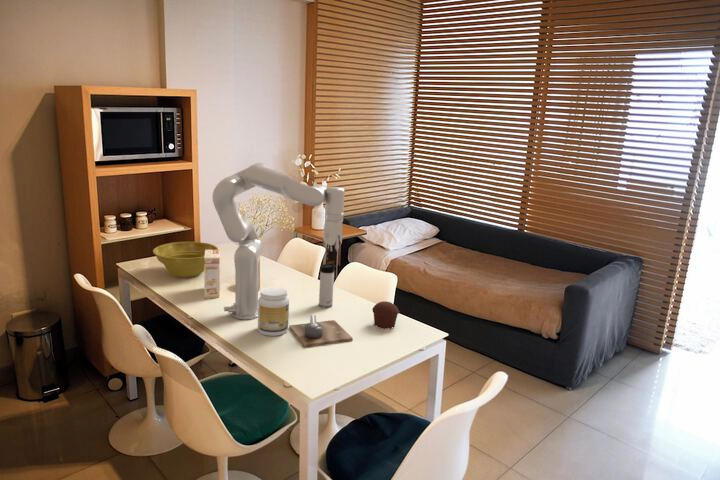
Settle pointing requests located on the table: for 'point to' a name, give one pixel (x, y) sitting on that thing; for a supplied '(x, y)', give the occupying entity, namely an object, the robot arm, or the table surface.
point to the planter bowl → (183, 257)
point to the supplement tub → (273, 311)
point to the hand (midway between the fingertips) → (331, 259)
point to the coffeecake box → (212, 274)
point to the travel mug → (326, 285)
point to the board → (330, 334)
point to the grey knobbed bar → (313, 328)
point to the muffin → (385, 315)
